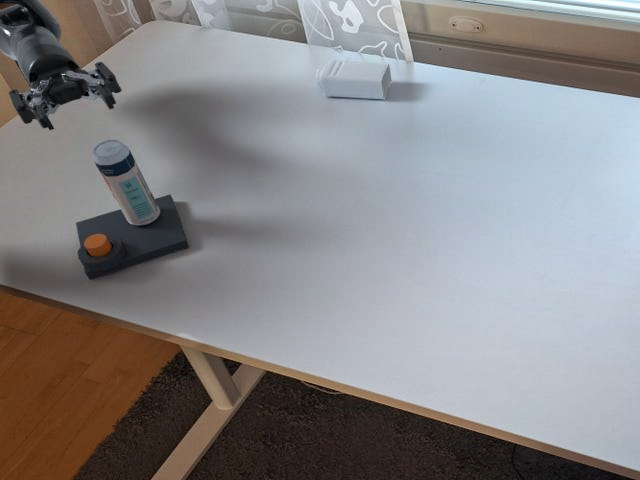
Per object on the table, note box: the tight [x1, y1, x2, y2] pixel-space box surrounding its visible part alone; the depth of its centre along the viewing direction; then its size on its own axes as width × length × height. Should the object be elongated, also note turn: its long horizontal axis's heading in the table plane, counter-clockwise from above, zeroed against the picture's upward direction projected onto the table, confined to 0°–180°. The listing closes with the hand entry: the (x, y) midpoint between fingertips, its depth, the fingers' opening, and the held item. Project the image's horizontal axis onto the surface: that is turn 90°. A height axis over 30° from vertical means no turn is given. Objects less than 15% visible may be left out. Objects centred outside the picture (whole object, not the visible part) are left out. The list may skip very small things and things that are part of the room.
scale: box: [75, 194, 190, 280], centre depth 99 cm, size 14×13×3 cm
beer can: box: [92, 139, 160, 225], centre depth 96 cm, size 5×5×12 cm
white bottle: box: [315, 59, 393, 101], centre depth 122 cm, size 6×13×4 cm, turn 81°
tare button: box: [84, 234, 112, 257], centre depth 94 cm, size 3×3×2 cm
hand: (79, 113), depth 97 cm, fingers open, 8 cm apart
